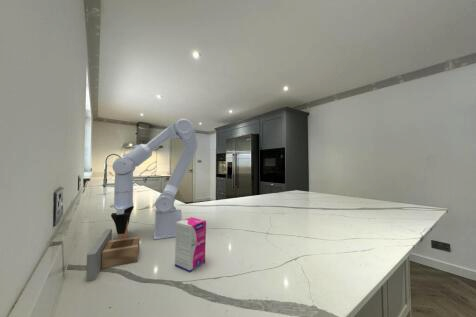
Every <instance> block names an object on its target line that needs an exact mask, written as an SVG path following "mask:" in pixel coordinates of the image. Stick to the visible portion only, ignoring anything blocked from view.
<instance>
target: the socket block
mask: <svg viewBox="0 0 476 317" xmlns="http://www.w3.org/2000/svg"><path fill="white" fill-rule="evenodd" d="M140 237H141V236H134V237H128V238H124V239H112V240H110V241H108V243H107V245H106V247H105V248H104V250H103V252H102V267H101V269H106V268H111V267H116V266H121V265H128V264H132V263H137V262H138V261H139V255H140V248H141V247H140V245H141V244H140V242H141V241H140V240H141V239H140Z"/></svg>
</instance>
